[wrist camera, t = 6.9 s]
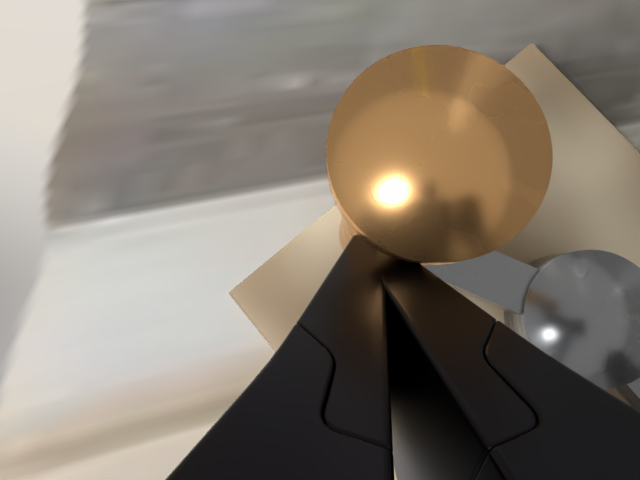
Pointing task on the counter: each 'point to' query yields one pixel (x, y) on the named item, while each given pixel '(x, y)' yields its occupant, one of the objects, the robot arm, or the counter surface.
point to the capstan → (477, 203)
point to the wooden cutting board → (530, 244)
